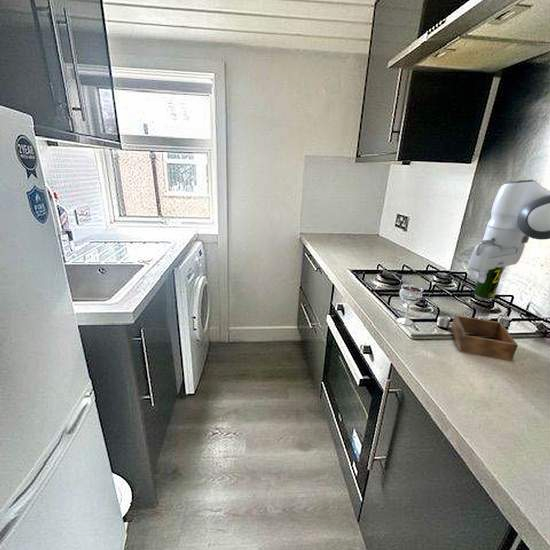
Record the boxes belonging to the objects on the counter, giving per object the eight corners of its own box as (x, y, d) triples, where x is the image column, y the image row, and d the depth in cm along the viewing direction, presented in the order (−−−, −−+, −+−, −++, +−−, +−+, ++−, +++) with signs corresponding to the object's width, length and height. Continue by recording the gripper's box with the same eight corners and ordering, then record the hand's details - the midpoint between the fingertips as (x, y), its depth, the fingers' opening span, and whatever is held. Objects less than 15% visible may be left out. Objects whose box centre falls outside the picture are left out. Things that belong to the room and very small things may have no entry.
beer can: (470, 295, 96) (480, 260, 92) (477, 291, 99) (488, 257, 95) (489, 302, 92) (500, 265, 88) (496, 298, 95) (508, 262, 91)
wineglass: (393, 314, 104) (399, 282, 99) (414, 317, 102) (421, 285, 98) (394, 324, 97) (401, 290, 93) (417, 328, 96) (425, 293, 91)
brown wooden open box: (496, 336, 92) (501, 322, 90) (512, 361, 81) (518, 345, 79) (450, 328, 96) (454, 314, 94) (459, 351, 85) (464, 335, 83)
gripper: (492, 243, 82) (478, 289, 87) (532, 236, 90) (518, 279, 95) (469, 237, 87) (457, 281, 92) (509, 232, 95) (497, 272, 101)
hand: (488, 280), depth 94 cm, fingers closed on beer can, 5 cm apart
